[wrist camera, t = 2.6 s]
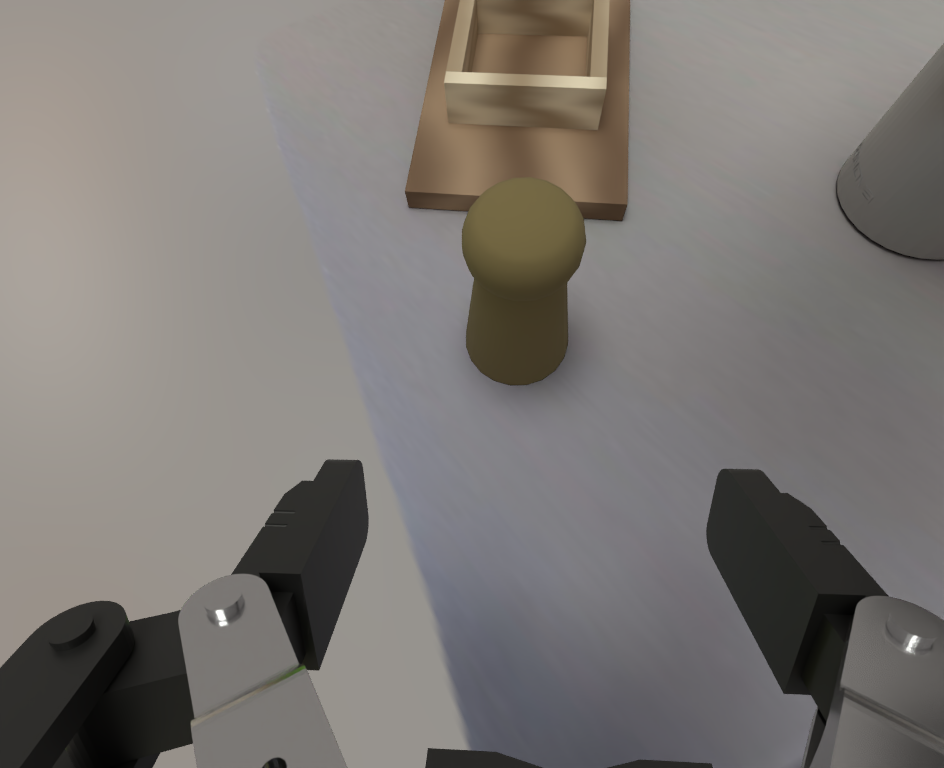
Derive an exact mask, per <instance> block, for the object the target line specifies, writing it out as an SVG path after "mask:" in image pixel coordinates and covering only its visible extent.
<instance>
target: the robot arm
mask: <svg viewBox="0 0 944 768" xmlns="http://www.w3.org/2000/svg"><path fill="white" fill-rule="evenodd" d="M837 194H838V197H839V200H840V204H841V206H842V208H843V210H844V211H845V213H846V215H847V217H848V218H849V219H850V220H851V222H852V223H853V224H854V225H855V226H856V227H857V228H858V229H859V230H860V231H861V232H862V233H864V234H865V235H866V236H868V237H869V238H870V239H871V240H873V241H875V242H877V243H878V244H880V245H882V246H884V247H885V248H887V249H890V250H893V251H895V252H898V253H901V254H903V255H907V256H912V257H917V258H921V259H938V260H939V259H944V43H943V45H942V46H941V47H940V48H939V49H938V51H937V52H936V53H935V54H934V55H933V57H932V58H931V59H930V60H929V62H928V63H927V64H926V65H925V66H924V68H923V69H922V70H921V71H920V72H919V74H918V75H917V76H916V77H915V78H914V80H913V81H912V82H911V83H910V85H909V86H908V87H907V88H906V89H905V91H904V92H903V93H902V94H901V95H900V97H899V98H898V99H897V100H896V102H895V103H894V104H893V105H892V106H891V108H890V109H889V110H888V111H887V112H886V114H885V115H884V116H883V117H882V118H881V120H880V121H879V122H878V123H877V124H876V126H875V127H874V128H873V129H872V131H871V132H870V133H869V134H868V135H867V137H866V138H865V139H864V140H863V142H862V143H861V144H860V145H859V146H858V148H857V149H856V150H855V151H854V152H853V154H852V155H851V156H850V157H849V159H848V160H847V161H846V162H845V164H844V166H843V167H842V169H841V170H840V173H839V177H838V180H837ZM367 533H368V508H367V499H366V490H365V482H364V473H363V467H362V463H361V461H359V460H326V461H325V462H324V464H323V466H322V467H321V469H320V471H319V472H318V474H317V476H316V478H315V479H314V481H301V482H300V483H299V484H298V485H296V486H295V487H294V488H292V489H291V490H289V491H288V492H287V493H285V494H284V496H283V497H282V499H281V500H280V502H279V503H278V505H277V506H276V508H275V509H274V513H272V514H271V515H270V517H269V518H268V520H267V521H266V523H265V527H263V528H262V529H261V531H260V532H259V533H258V535H257V537H256V538H255V539H254V541H253V543H252V544H251V546H250V547H249V549H248V550H247V552H246V553H245V555H244V556H243V558H242V559H241V561H240V562H239V564H238V565H237V567H236V568H235V570H234V571H233V573H232V574H231V575H229V576H225V577H222V578H219V579H216V580H214V581H212V582H210V583H208V584H206V585H204V586H203V587H201V588H200V589H199V590H197V591H196V592H195V593H194V594H193V595H191V596H190V598H189V599H188V600H187V601H186V602H185V604H184V605H183V607H182V609H181V610H179V611H175V612H172V613H167V614H162V615H158V616H154V617H148V618H144V619H139V620H135V621H130V622H129V620H128V618H127V615H126V613H125V610H124V608H123V607H122V606H121V605H119V604H117V603H115V602H111V601H95V602H90V603H86V604H82V605H79V606H76V607H74V608H71V609H69V610H67V611H64V612H62V613H60V614H59V615H57V616H55V617H53V618H52V619H50V620H49V621H47V622H46V623H44V624H43V625H42V626H40V627H39V628H38V629H37V630H36V631H35V632H34V633H33V634H32V635H31V636H29V638H28V639H27V640H26V641H25V642H24V643H23V644H22V645H21V646H20V647H19V648H18V649H17V651H16V652H15V653H14V654H13V655H12V656H11V657H10V658H9V659H8V660H7V661H6V662H5V664H4V665H3V666H2V667H1V668H0V768H152V767H153V765H154V764H155V762H156V759H157V758H158V756H159V754H160V752H164V751H167V750H171V749H174V748H178V747H182V746H185V745H189V744H192V743H193V745H194V752H195V757H196V764H197V768H347V766H346V763H345V761H344V758H343V756H342V753H341V751H340V749H339V746H338V744H337V741H336V739H335V736H334V734H333V732H332V729H331V727H330V724H329V722H328V719H327V717H326V715H325V712H324V710H323V707H322V705H321V703H320V700H319V698H318V695H317V693H316V690H315V688H314V686H313V683H312V681H311V678H310V676H309V673H308V671H307V670H319V669H320V667H321V664H322V661H323V658H324V655H325V653H326V650H327V647H328V644H329V642H330V639H331V636H332V634H333V631H334V628H335V625H336V623H337V620H338V617H339V614H340V611H341V609H342V606H343V603H344V601H345V598H346V595H347V592H348V590H349V587H350V584H351V581H352V579H353V576H354V573H355V570H356V568H357V565H358V562H359V559H360V557H361V554H362V551H363V548H364V545H365V543H366V539H367ZM706 535H707V544H708V548H709V551H710V554H711V556H712V558H713V560H714V562H715V564H716V566H717V568H718V570H719V571H720V573H721V575H722V577H723V579H724V581H725V583H726V585H727V587H728V589H729V590H730V592H731V594H732V596H733V598H734V600H735V602H736V604H737V606H738V608H739V610H740V611H741V613H742V615H743V617H744V619H745V621H746V623H747V625H748V627H749V629H750V630H751V632H752V634H753V636H754V638H755V640H756V642H757V644H758V646H759V648H760V649H761V651H762V653H763V655H764V657H765V659H766V661H767V663H768V665H769V667H770V668H771V670H772V672H773V674H774V676H775V678H776V680H777V682H778V684H779V686H780V687H781V689H782V691H783V693H784V694H802V695H811V696H812V698H813V699H814V701H815V703H816V705H817V709H816V711H815V714H814V716H813V719H812V723H811V727H810V731H809V735H808V739H807V743H806V748H805V752H804V756H803V760H802V764H801V768H944V621H943V620H942V619H941V618H939V617H938V616H936V615H934V614H933V613H931V612H929V611H927V610H926V609H924V608H922V607H919V606H917V605H915V604H913V603H910V602H907V601H904V600H901V599H897V598H893V597H889V596H888V595H887V594H886V593H885V592H884V590H883V589H882V588H881V587H880V586H879V585H878V584H877V583H876V581H875V580H874V579H873V578H872V577H871V576H870V575H869V574H868V572H867V571H866V570H865V569H864V568H863V567H862V566H861V565H860V563H859V562H858V561H857V560H856V559H855V558H854V557H853V555H852V554H851V553H850V552H849V551H848V550H847V549H846V548H845V546H844V545H840V541H839V540H838V539H837V537H836V536H835V535H834V534H833V533H832V532H831V531H830V530H827V526H826V525H825V524H824V523H823V522H822V520H821V519H820V518H819V517H818V516H817V515H816V514H815V513H814V511H813V510H812V509H811V508H809V507H808V506H806V505H805V504H803V503H802V502H800V501H799V500H797V499H796V498H794V497H792V496H791V495H789V494H788V493H780V492H779V490H778V489H777V488H776V487H775V486H774V484H773V483H772V482H771V481H770V480H769V478H768V477H767V476H766V475H765V474H764V473H763V472H762V471H761V470H753V469H722V470H721V471H720V472H719V474H718V477H717V481H716V485H715V490H714V495H713V499H712V504H711V509H710V513H709V518H708V523H707V530H706ZM426 768H542V767H539V766H536V765H533V764H530V763H527V762H524V761H521V760H518V759H515V758H512V757H509V756H506V755H503V754H500V753H498V752H487V751H468V750H449V749H431V748H428V753H427V760H426ZM609 768H713V767H712V764H710V763H691V762H673V761H654V760H637V761H633V762H629V763H625V764H621V765H617V766H613V767H609Z"/></svg>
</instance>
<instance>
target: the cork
mask: <svg viewBox="0 0 944 768" xmlns="http://www.w3.org/2000/svg"><path fill="white" fill-rule="evenodd" d="M585 244H586V235H585V226H584V218H583V216H582V214H581V212H580V210H579V208H578V206H577V204H576V203H575V202H574V200H573V199H572V198H571V197H570V196H569V195H568V194H567V193H566V192H565V191H564V190H563V189H562V188H560V187H558V186H556V185H554V184H552V183H550V182H548V181H546V180H542V179H537V178H532V177H524V178H512V179H509V180H505V181H502V182H499V183H497V184H495V185H494V186H492V187H490V188H489V189H487V190H486V191H484V192H483V193H482V194H481V195H480V197H479V198H478V199H477V200H476V201H475V202H474V204H473V205H472V206H471V207H470V209H469V211H468V214H467V217H466V219H465V222H464V225H463V229H462V250H463V256H464V258H465V261H466V263H467V266H468V268H469V271H470V272H471V274H472V276H473V277H474V283H473V290H472V296H471V303H470V310H469V317H468V324H467V331H466V347H467V350H468V353H469V356H470V358H471V361H472V362H473V363H474V364H475V366H476V367H477V368H478V369H479V370H480V372H481V373H483V374H485V375H486V376H488V377H489V378H491V379H492V380H494V381H497V382H501V383H504V384H508V385H528V384H531V383H534V382H537V381H540V380H543V379H544V378H545V377H547V376H548V375H549V374H551V373H552V372H554V371H555V370H556V369H557V367H558V366H559V364H560V363H561V362H562V360H563V359H564V356H565V353H566V349H567V345H568V311H567V282H568V281H569V279H570V278H571V277H572V275H573V274H574V273H575V271H576V270H577V269H578V267H579V266H580V262H581V259H582V255H583V252H584V248H585Z"/></svg>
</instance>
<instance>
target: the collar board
mask: <svg viewBox="0 0 944 768" xmlns="http://www.w3.org/2000/svg"><path fill="white" fill-rule="evenodd" d="M629 43H630V0H445V2H444V7H443V12H442V17H441V22H440V26H439V31H438V36H437V41H436V45H435V50H434V55H433V60H432V65H431V69H430V74H429V79H428V84H427V88H426V93H425V98H424V103H423V108H422V112H421V117H420V122H419V127H418V131H417V136H416V141H415V146H414V151H413V155H412V160H411V165H410V170H409V174H408V179H407V184H406V189H405V194H406V198H407V202H408V206H409V207H411V208H427V209H443V210H459V211H469V209H470V207H471V206H472V205H473V204H474V202H475V201H476V200H477V199H478V198H479V197H480V195H481V194H482V193H483V192H484V191H486V190H487V189H489V188H490V187H492V186H494V185H495V184H497V183H499V182H502V181H505V180H509V179H512V178H524V177H532V178H537V179H542V180H546V181H548V182H550V183H552V184H554V185H556V186H558V187H560V188H562V189H563V190H564V191H565V192H566V193H567V194H568V195H569V196H570V197H571V198H572V199H573V200H574V202H575V203H576V204H577V206H578V208H579V210H580V212H581V214H582V216H583V218H588V219H604V220H620V221H622V219H623V216H624V213H625V210H626V207H627V198H628V120H629Z"/></svg>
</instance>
